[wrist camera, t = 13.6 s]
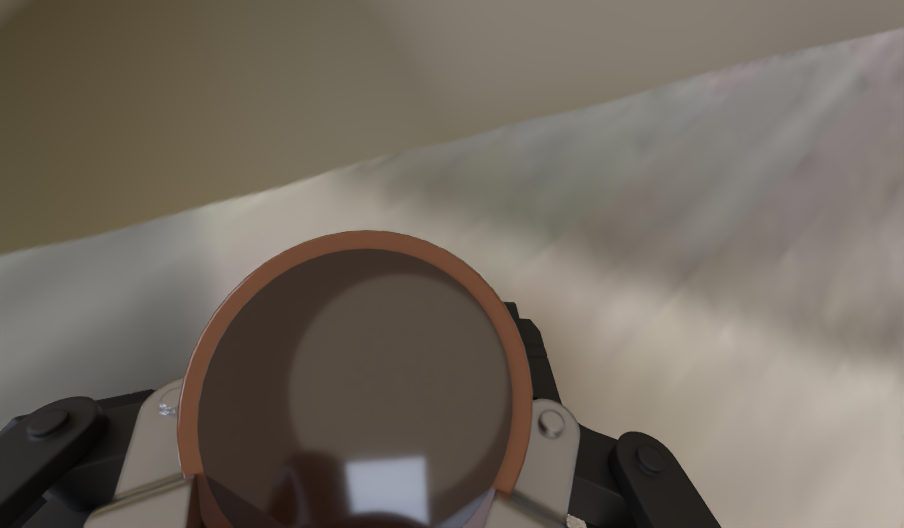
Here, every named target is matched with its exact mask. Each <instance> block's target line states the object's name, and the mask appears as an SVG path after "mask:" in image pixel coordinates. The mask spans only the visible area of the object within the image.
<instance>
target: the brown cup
mask: <svg viewBox="0 0 904 528" xmlns="http://www.w3.org/2000/svg"><path fill="white" fill-rule="evenodd" d="M532 418H533V388H532V381H531V373H530V366H529V363H528V359H527V355H526V351H525V347H524V344H523V342H522V339H521V336H520V334H519V331H518V329H517V326H516V324H515V322H514V321H513V319H512V317H511V315H510V313H509V311H508V310H507V308H506V306H505V305H504V303H503V302H502V301H501V299H500V298H499V296H498V295H497V294H496V292H495V291H494V289H493V288H492V287H491V286H490V285H489V284H488V283H487V282H486V281H485V280H484V279H483V278H482V277H481V275H480V274H478V273H477V272H476V271H475V270H474V269H472V268H471V267H470V266H469V265H468V264H466V263H465V262H464V261H463V260H461V259H459V258H458V257H456V256H455V255H453V254H452V253H450V252H448V251H447V250H445V249H443V248H441V247H439V246H436V245H434V244H432V243H430V242H428V241H425V240H422V239H419V238H416V237H412V236H409V235H405V234H400V233H394V232H389V231H374V230H361V231H346V232H341V233H335V234H330V235H325V236H322V237H319V238H316V239H312V240H309V241H306V242H303V243H301V244H299V245H297V246H295V247H292V248H290V249H288V250H286V251H284V252H282V253H280V254H279V255H277V256H275V257H274V258H272V259H270V260H269V261H267V262H265V263H264V264H263V265H261V266H260V267H259V268H257V269H256V270H255V271H254V272H252V273H251V274H250V275H248V276H247V277H246V278H245V279H244V280H243V281H242V282H241V283H240V284H239V285H238V286H237V287H236V288H235V289H234V290H233V291H232V292H231V293H230V294H229V295H228V296H227V297H226V299H225V300H224V301H223V302H222V304H221V305H220V306H219V307H218V309H217V310H216V311H215V312H214V314H213V316H212V317H211V319H210V320H209V322H208V324H207V325H206V327H205V328H204V330H203V332H202V333H201V335H200V337H199V340H198V342H197V344H196V346H195V348H194V350H193V352H192V354H191V357H190V360H189V363H188V366H187V369H186V372H185V375H184V378H183V383H182V388H181V393H180V398H179V403H178V415H177V445H178V457H179V462H180V467H181V472H182V477H185V476H189V475H192V474H196V476H197V485H198V494H199V503H200V512H201V519H202V525H203V527H204V528H483V525H484V523H485V520H486V517H487V514H488V511H489V508H490V505H491V503H492V500H493V497H494V494H495V491H496V489H498V490H500V491H503V492H505V493H507V494H510V495H511V494H512V492H513V490H514V488H515V486H516V483H517V481H518V478H519V475H520V473H521V470H522V467H523V465H524V462H525V458H526V454H527V449H528V445H529V441H530V436H531V427H532Z"/></svg>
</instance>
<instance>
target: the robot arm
mask: <svg viewBox="0 0 904 528" xmlns="http://www.w3.org/2000/svg"><path fill="white" fill-rule="evenodd" d="M503 303H504V305H505V306H506V308H507V310H508V311H509V313H510V315H511V317H512V319H513V321H514V322H515V324H516V326H517V329H518V331H519V334H520V336H521V339H522V342H523V344H524V347H525V351H526V355H527V359H528V363H529V366H530V373H531V381H532V388H533V418H532V427H531V436H530V441H529V445H528V449H527V454H526V458H525V462H524V465H523V467H522V470H521V473H520V475H519V478H518V481H517V483H516V486H515V488H514V490H513V492H512V494H511V495H510V494H507V493H505V492H503V491H500V490H498V489H496V491H495V494H494V497H493V500H492V503H491V505H490V508H489V511H488V514H487V517H486V520H485V523H484V525H483V528H569V527H568V526H567V524H566V519H567V514H570V515H572V516H574V517H577V518H579V519H581V520H583V521H585V524H586V526H587V528H721V526H720V525H719V523H718V522H717V520H716V519H715V517H714V516H713V514H712V513H711V511H710V510H709V508H708V507H707V505H706V504H705V502H704V501H703V499H702V497H701V496H700V494H699V493H698V491H697V490H696V488H695V487H694V485H693V484H692V482H691V481H690V479H689V478H688V476H687V475H686V473H685V472H684V470H683V469H682V467H681V466H680V464H679V463H678V461H677V460H676V458H675V457H674V455H673V454H672V453H671V452H670V451H669V449H668V448H667V447H665V446H664V445H663V444H662V443H661V442H659V441H658V440H657V439H655V438H653V437H651V436H649V435H647V434H644V433H641V432H632V431H631V432H626V433H624V434H623V435H621V436H620V438H619V439H618V440H617V439H614V438H611V437H609V436H606V435H603V434H601V433H598V432H595V431H592V430H590V429H588V428H586V427H584V426H582V425H581V424H579V423H578V422H577V420H576V419H575V417H574V416H573V414H572V413H571V412H570V411H569V410H568V409H567V408H566V407H564V406H563V405H562V403H561V400H560V397H559V394H558V390H557V387H556V384H555V380H554V377H553V374H552V370H551V367H550V364H549V360H548V358H547V354H546V350H545V347H544V344H543V340H542V337H541V334H540V331H539V330H538V328H537V327H536V326H535V325H534V323H533V322H532V321H531V320H530V319H520V318H519V315H518V311H517V307H516V304H515V303H514V302H503ZM182 383H183V378H181V379H177V380H175V381H172V382H170V383H168V384H166V385H164V386H162V387H161V388H159V389H158V390H156V391H155V392H154V393H152V394H151V395H150V396H149V397H148V398H147V399H146V401H144V402H139V403H134V404H129V405H124V406H119V407H114V408H109V409H104V410H102V409H101V408H100V407H99V405H98V404H97V403H96V402H95V400H93V399H92V398H89V397H82V396H80V397H70V398H65V399H62V400H58V401H55V402H53V403H50V404H48V405H46V406H44V407H42V408H40V409H38V410H36V411H34V412H32V413H31V414H29V415H28V416H26V417H25V418H23V419H22V420H21V421H19V422H18V423H17V424H15V425H14V426H13V427H11V428H10V429H9V430H7V431H6V432H5V433H3V434H2V435H1V436H0V528H8V527H9V526H10V525H11V524H12V523H13V522H14V521H15V520H17V519H18V518H19V517H20V516H21V515H22V514H23V513H24V512H25V511H26V510H27V509H28V508H29V507H30V506H31V505H32V504H33V503H34V502H35V501H37V500H38V499H39V498H40V497H41V496H42V495H43V494H44V493H45V492H46V491H48V492H49V493H50V494H52V495H53V497H52V498H51V499H50V500H49V501H48V502H46V503H45V504H44V505H43V506H42V507H41V508H40V509H39V510H38V511H37V512H36V513H35V514H34V515H33V516H32V517H31V518H30V519H29V520H28V521H27V522H26V523H25V524H24V525H23V526H22V527H21V528H204V527H203V525H202V519H201V512H200V503H199V494H198V485H197V476H196V474H192V475H189V476H185V477H182V472H181V467H180V462H179V457H178V445H177V415H178V403H179V398H180V393H181V388H182Z"/></svg>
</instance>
